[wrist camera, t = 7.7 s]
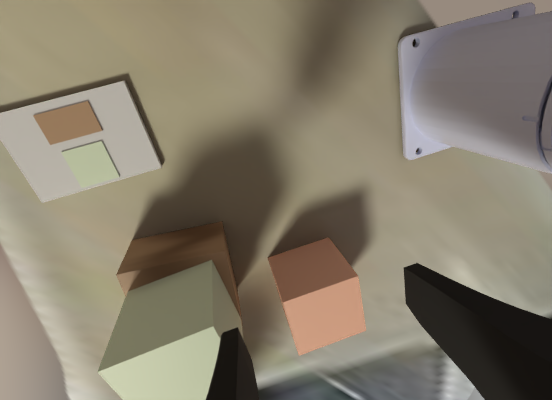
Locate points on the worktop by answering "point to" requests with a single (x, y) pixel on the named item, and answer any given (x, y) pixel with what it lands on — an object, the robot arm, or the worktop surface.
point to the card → (79, 141)
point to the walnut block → (178, 257)
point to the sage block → (170, 336)
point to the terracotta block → (318, 294)
